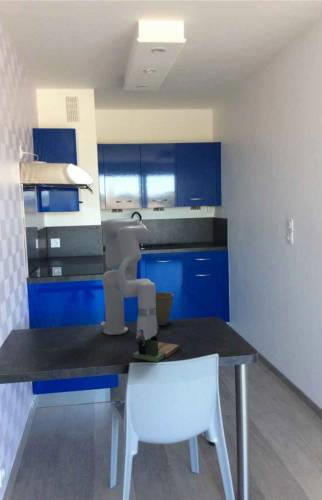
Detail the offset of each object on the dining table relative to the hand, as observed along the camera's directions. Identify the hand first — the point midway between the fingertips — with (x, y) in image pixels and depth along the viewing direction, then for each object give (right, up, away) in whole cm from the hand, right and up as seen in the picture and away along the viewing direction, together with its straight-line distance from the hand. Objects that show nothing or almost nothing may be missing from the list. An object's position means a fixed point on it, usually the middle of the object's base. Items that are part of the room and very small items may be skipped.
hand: (148, 350), depth 192 cm
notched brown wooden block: (+5, -2, +8) cm, 10 cm away
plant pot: (+5, +3, +51) cm, 52 cm away
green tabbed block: (+1, -3, +1) cm, 3 cm away
